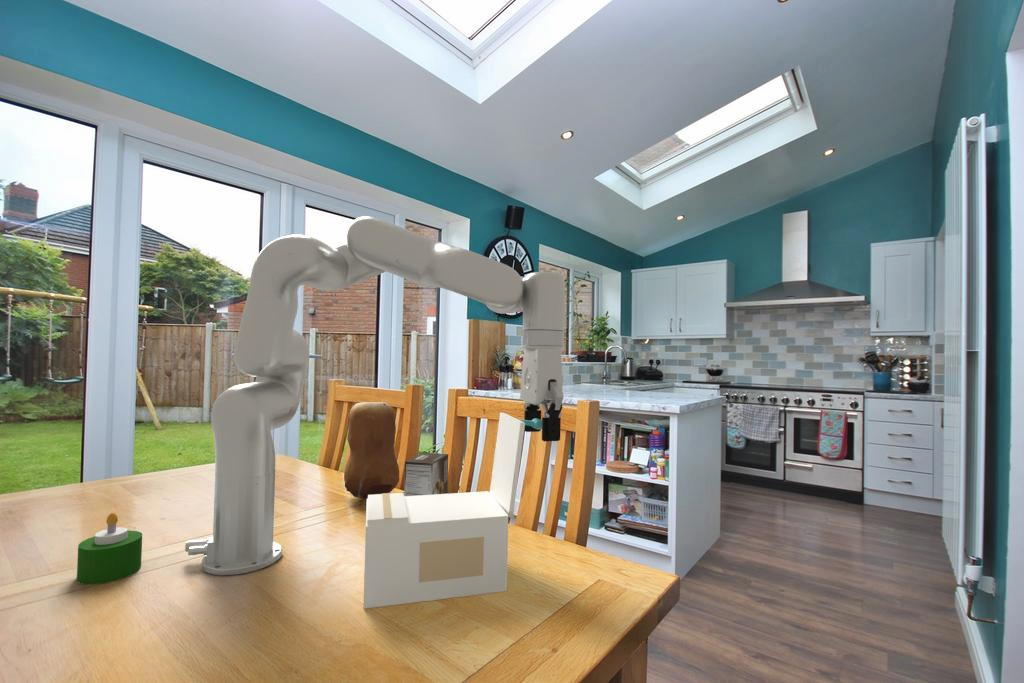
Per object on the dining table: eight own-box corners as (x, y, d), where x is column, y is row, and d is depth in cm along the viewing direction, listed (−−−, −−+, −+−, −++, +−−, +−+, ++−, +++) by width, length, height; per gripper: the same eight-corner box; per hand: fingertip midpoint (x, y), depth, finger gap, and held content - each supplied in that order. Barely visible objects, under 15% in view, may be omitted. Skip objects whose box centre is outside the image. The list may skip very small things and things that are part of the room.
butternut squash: (376, 488, 132) (378, 397, 133) (409, 497, 125) (411, 401, 125) (331, 500, 121) (334, 401, 122) (364, 511, 113) (367, 405, 114)
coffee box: (419, 525, 105) (421, 451, 106) (447, 528, 104) (449, 453, 104) (402, 541, 96) (404, 460, 97) (432, 544, 95) (434, 463, 95)
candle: (88, 566, 83) (91, 507, 83) (147, 559, 86) (149, 502, 86) (67, 588, 75) (69, 524, 75) (132, 579, 78) (134, 517, 79)
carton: (363, 609, 71) (365, 521, 71) (364, 567, 84) (366, 493, 85) (506, 591, 77) (508, 510, 77) (486, 555, 90) (488, 486, 91)
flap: (520, 421, 79) (555, 424, 80) (499, 411, 91) (530, 414, 93) (507, 517, 78) (543, 519, 80) (488, 494, 90) (520, 496, 92)
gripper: (510, 341, 94) (508, 428, 94) (539, 339, 78) (537, 445, 77) (545, 342, 96) (544, 428, 96) (582, 340, 80) (580, 444, 79)
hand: (541, 435), depth 86 cm, fingers open, 9 cm apart
